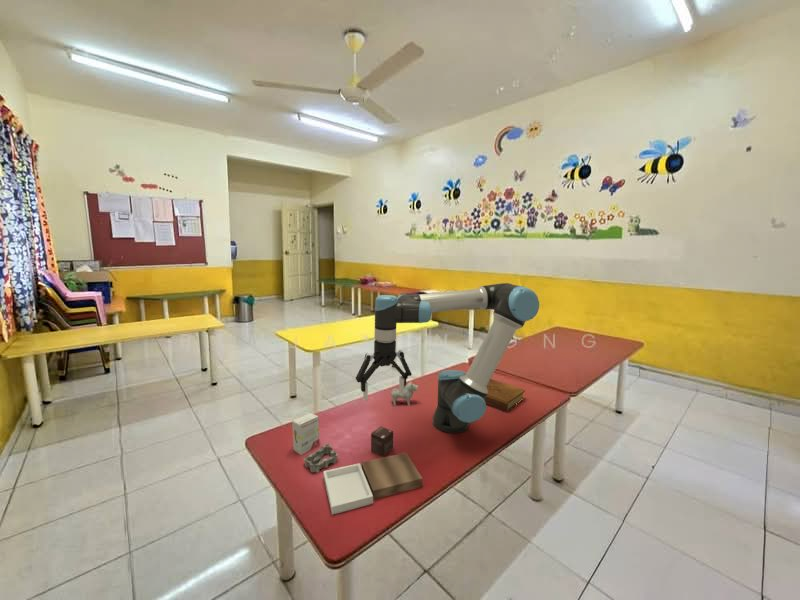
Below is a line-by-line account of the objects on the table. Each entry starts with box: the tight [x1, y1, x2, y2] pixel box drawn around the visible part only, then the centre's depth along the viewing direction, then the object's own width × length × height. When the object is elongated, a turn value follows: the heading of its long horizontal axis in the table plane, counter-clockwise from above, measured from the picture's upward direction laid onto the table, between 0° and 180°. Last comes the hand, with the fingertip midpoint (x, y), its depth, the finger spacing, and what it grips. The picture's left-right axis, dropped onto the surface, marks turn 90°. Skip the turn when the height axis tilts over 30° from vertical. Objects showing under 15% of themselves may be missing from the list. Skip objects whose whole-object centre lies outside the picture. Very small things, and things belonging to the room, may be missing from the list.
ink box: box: [291, 412, 321, 456], centre depth 126 cm, size 9×5×12 cm, turn 140°
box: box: [370, 425, 394, 458], centre depth 125 cm, size 6×6×7 cm
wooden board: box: [361, 452, 423, 501], centre depth 110 cm, size 16×14×3 cm
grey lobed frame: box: [303, 443, 339, 473], centre depth 118 cm, size 11×8×4 cm
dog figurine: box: [390, 380, 419, 407], centre depth 161 cm, size 5×13×11 cm, turn 96°
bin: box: [323, 462, 374, 516], centre depth 105 cm, size 12×16×2 cm
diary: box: [484, 378, 526, 413], centre depth 168 cm, size 23×19×6 cm
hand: (383, 397), depth 122 cm, fingers open, 13 cm apart
